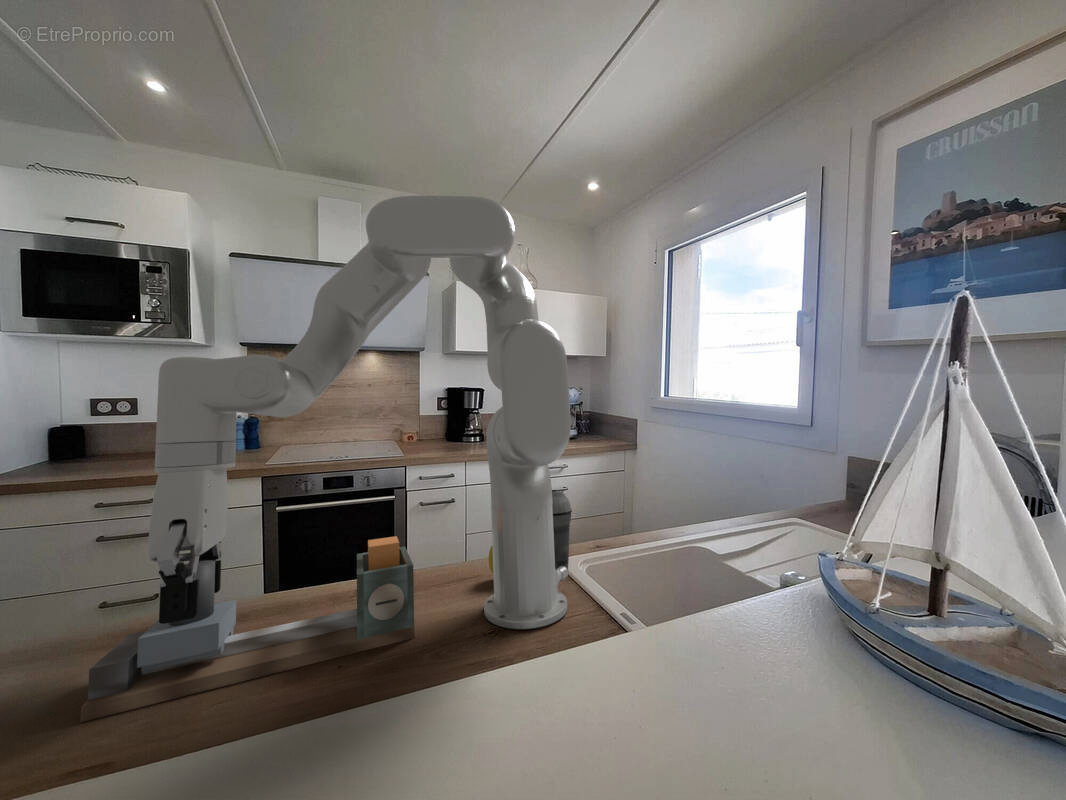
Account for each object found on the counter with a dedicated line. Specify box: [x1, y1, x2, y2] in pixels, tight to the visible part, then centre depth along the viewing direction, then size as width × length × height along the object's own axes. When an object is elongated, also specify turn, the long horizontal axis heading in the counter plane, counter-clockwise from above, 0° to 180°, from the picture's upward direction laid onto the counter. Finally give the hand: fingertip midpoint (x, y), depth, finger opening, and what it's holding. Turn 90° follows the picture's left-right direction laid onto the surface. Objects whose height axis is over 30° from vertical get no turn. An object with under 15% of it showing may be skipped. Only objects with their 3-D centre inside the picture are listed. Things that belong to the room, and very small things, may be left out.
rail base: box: [80, 546, 415, 723], centre depth 50 cm, size 32×10×10 cm, turn 115°
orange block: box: [367, 535, 400, 571], centre depth 55 cm, size 4×4×4 cm
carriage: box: [137, 560, 237, 673], centre depth 46 cm, size 7×7×10 cm
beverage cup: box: [552, 489, 573, 570], centre depth 74 cm, size 7×7×20 cm
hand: (192, 605), depth 46 cm, fingers open, 7 cm apart
